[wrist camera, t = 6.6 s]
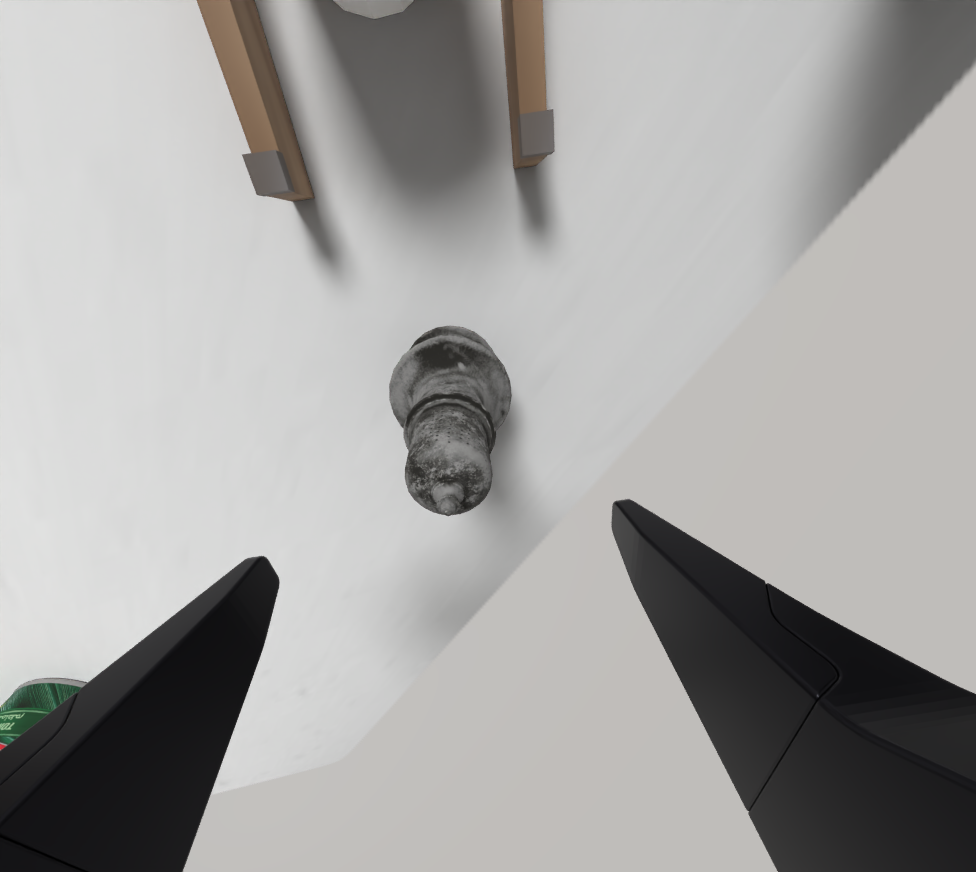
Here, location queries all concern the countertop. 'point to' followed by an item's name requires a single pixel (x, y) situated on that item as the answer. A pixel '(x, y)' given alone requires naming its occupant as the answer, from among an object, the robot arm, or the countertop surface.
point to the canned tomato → (33, 705)
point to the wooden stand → (269, 122)
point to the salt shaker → (449, 417)
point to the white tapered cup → (374, 7)
